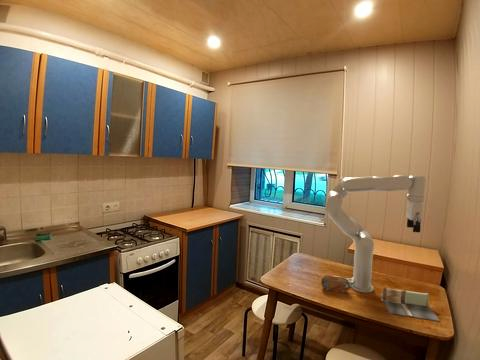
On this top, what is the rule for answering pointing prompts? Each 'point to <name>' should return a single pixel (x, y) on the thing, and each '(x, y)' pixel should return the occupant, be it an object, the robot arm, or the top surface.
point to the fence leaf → (417, 298)
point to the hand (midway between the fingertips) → (413, 229)
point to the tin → (335, 283)
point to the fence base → (405, 305)
